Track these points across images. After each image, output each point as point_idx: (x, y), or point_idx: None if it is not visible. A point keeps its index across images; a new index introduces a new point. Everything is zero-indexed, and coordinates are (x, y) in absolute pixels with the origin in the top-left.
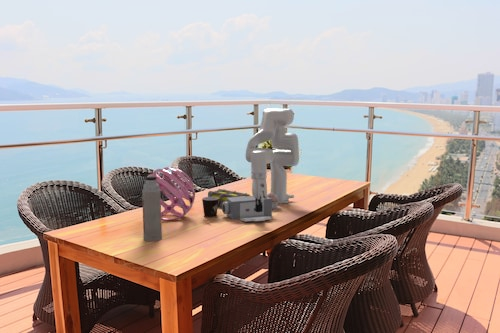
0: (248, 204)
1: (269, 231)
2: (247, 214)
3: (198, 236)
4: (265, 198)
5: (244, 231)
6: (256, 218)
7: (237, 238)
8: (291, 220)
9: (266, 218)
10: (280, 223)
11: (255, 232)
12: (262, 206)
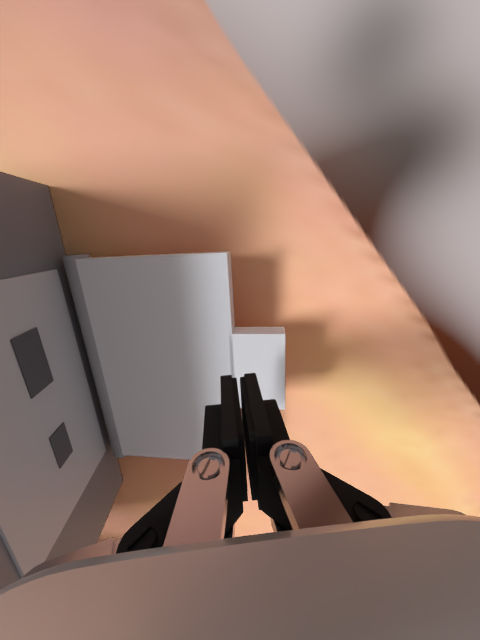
0: (15, 488)
1: (422, 327)
2: (83, 416)
3: None
4: (409, 516)
5: (358, 453)
6: (262, 394)
7: (449, 496)
8: (190, 5)
9: (232, 299)
10: (265, 176)
11: (401, 406)
12: (264, 408)
